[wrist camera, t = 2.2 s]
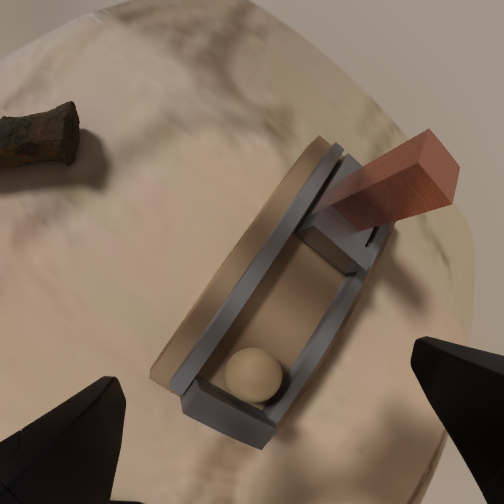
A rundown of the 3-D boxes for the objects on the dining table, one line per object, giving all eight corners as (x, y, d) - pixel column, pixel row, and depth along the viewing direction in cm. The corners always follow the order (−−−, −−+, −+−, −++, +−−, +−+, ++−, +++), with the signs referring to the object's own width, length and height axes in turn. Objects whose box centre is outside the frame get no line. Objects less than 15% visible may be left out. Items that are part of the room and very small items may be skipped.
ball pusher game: (259, 429, 19) (286, 462, 14) (150, 368, 17) (146, 395, 12) (384, 216, 24) (425, 202, 19) (307, 146, 22) (340, 116, 18)
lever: (342, 273, 19) (447, 261, 11) (293, 233, 19) (387, 194, 10) (381, 196, 21) (470, 159, 13) (341, 158, 20) (423, 102, 12)
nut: (271, 387, 17) (292, 405, 14) (221, 395, 16) (233, 416, 13) (269, 340, 18) (290, 350, 14) (217, 345, 17) (229, 358, 14)
